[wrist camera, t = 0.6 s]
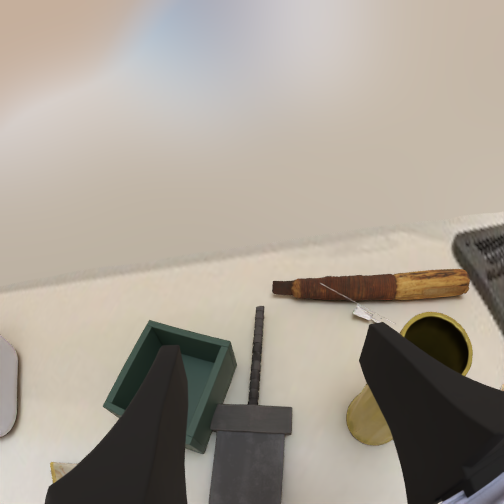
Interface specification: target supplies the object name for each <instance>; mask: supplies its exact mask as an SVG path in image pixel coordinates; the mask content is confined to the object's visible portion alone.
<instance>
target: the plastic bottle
mask: <svg viewBox="0 0 504 504" xmlns="http://www.w3.org/2000/svg"><path fill="white" fill-rule="evenodd" d="M17 374H18V357H17V353H16V350H15V349H14V347H13V346H12V344H10V343H9V342H8V341H7V340H6V339H5V338H4V337H2V336H1V335H0V437H2V436H4V435H6V434H7V433H8V432H9V431H10V430H11V428H12V427H13V425H14V422H15V419H16V414H17Z"/></svg>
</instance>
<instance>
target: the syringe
mask: <svg viewBox="0 0 504 504" xmlns="http://www.w3.org/2000/svg"><path fill="white" fill-rule="evenodd" d="M320 284H321V283H320ZM322 285H323V284H322ZM324 286H325V285H324ZM326 287H327V286H326ZM331 290H332V289H331ZM333 291H334V290H333ZM335 292H336V291H335ZM337 293H338V292H337ZM342 296H343V295H342ZM344 297H345V296H344ZM346 298H347V297H346ZM348 299H349V298H348ZM350 300H351V299H350ZM355 303H356V302H355ZM357 304H358V303H357ZM359 305H360V304H359ZM359 305H357V306H356V308H355V310H354V311H353V314H355V315H357V316H360V317H362V318H365V319H367V320H370V319H373V321H374V322H376V323H380V321H378V320H376V319H374V318H371V317H372V316H373V315H372V314H370V313H369V312H367V311H366V310H364V309H363V308H361V307H360V306H359ZM361 306H362V305H361ZM366 309H367V308H366ZM368 310H369V309H368ZM370 311H371V310H370ZM372 312H373V311H372ZM377 315H378V314H377ZM379 316H380V315H379ZM381 317H382V316H381ZM383 318H384V317H383ZM381 319H382V318H381ZM388 321H389V320H388ZM390 322H391V321H390ZM392 323H393V322H392ZM394 324H395V323H394Z"/></svg>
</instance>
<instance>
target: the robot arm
mask: <svg viewBox="0 0 504 504" xmlns="http://www.w3.org/2000/svg"><path fill="white" fill-rule="evenodd" d="M359 362H360V365H361V368H362V371H363V374H364V377H365V379H366V382H367V384H368V386H369V388H370V390H371V392H372V394H373V396H374V398H375V400H376V402H377V404H378V406H379V408H380V410H381V412H382V414H383V416H384V418H385V420H386V422H387V424H388V427H389V429H390V431H391V434H392V437H393V440H394V443H395V446H396V450H397V453H398V457H399V460H400V464H401V468H402V472H403V477H404V482H405V488H406V494H407V502H408V504H438V503H439V502H441V501H442V503H440V504H504V391H502V390H498V389H495V388H492V387H489V386H486V385H484V384H481V383H479V382H477V381H474V380H472V379H470V378H468V377H465V376H463V375H462V374H460V373H458V372H456V371H454V370H452V369H450V368H449V367H447V366H445V365H444V364H442V363H441V362H439V361H437V360H436V359H434V358H433V357H431V356H430V355H428V354H427V353H425V352H424V351H423V350H421V349H420V348H418V347H417V346H416V345H414V344H413V343H411V342H410V341H409V340H407V339H406V338H405V337H403V336H402V335H401V334H399V333H398V332H397V331H395V330H394V329H392V328H391V327H390V326H388V325H387V324H385V323H384V322H380V323H374V324H370V325H369V329H368V332H367V336H366V339H365V343H364V346H363V349H362V353H361V356H360V359H359ZM187 417H188V380H187V376H186V372H185V368H184V364H183V360H182V355H181V351H180V347H179V345H163V346H162V347H161V348H160V349H159V352H158V354H157V356H156V358H155V360H154V362H153V364H152V366H151V368H150V370H149V372H148V374H147V376H146V377H145V379H144V381H143V383H142V384H141V386H140V388H139V390H138V391H137V393H136V395H135V396H134V398H133V399H132V401H131V402H130V404H129V405H128V407H127V408H126V410H125V411H124V413H123V414H122V416H121V417H120V418H119V420H118V421H117V422H116V424H115V425H114V426H113V428H112V429H111V430H110V431H109V432H108V434H107V435H106V436H105V437H104V438H103V439H102V441H101V442H100V443H99V444H98V445H97V446H96V447H95V448H94V449H93V450H92V451H91V452H90V453H89V454H88V455H87V456H86V457H85V458H84V459H83V460H82V461H81V462H80V463H79V464H77V465H76V466H75V467H74V468H73V469H72V470H71V471H69V472H68V473H67V474H65V475H64V476H63V477H61V478H60V479H59V480H57V481H56V482H55V483H53V484H52V485H51V486H49V488H48V492H47V495H46V499H45V504H187V495H186V483H185V466H184V462H185V442H186V429H187Z"/></svg>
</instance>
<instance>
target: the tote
mask: <svg viewBox="0 0 504 504" xmlns="http://www.w3.org/2000/svg"><path fill="white" fill-rule="evenodd" d="M163 345H179V347H180V351H181V355H182V360H183V364H184V368H185V372H186V376H187V380H188V417H187V429H186V442H185V448H187V449H190V450H193V451H195V452H198V453H201V454H204V452H205V449H206V446H207V444H208V441H209V439H210V436H211V433H212V430H211V429H210V427H211V421H212V418H213V415H214V413H215V410H216V407H217V404H223V401H224V399H225V396H226V393H227V391H228V388H229V385H230V383H231V380H232V377H233V374H234V372H235V369H236V366H237V363H236V360H235V356H234V352H233V349H232V345H231V342H230V341H227V340H223V339H219V338H214V337H210V336H206V335H202V334H198V333H194V332H191V331H187V330H183V329H179V328H176V327H172V326H168V325H165V324H161V323H158V322H154V321H151V320H149V322H148V324H147V325H146V327H145V329H144V330H143V332H142V334H141V336H140V338H139V339H138V341H137V343H136V345H135V347H134V348H133V350H132V352H131V354H130V356H129V357H128V359H127V361H126V363H125V365H124V367H123V369H122V370H121V372H120V374H119V376H118V378H117V380H116V382H115V384H114V386H113V388H112V389H111V391H110V393H109V395H108V397H107V399H106V401H105V403H104V405H103V407H104V408H106V409H107V410H108V411H110V412H111V413H113V414H114V415H115V416H117V417H118V418H120V417H121V416H122V414H123V413H124V411H125V410H126V408H127V407H128V405H129V404H130V402H131V401H132V399H133V398H134V396H135V395H136V393H137V391H138V390H139V388H140V386H141V384H142V383H143V381H144V379H145V377H146V376H147V374H148V372H149V370H150V368H151V366H152V364H153V362H154V360H155V358H156V356H157V354H158V352H159V349H160V348H161V347H162V346H163Z"/></svg>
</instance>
